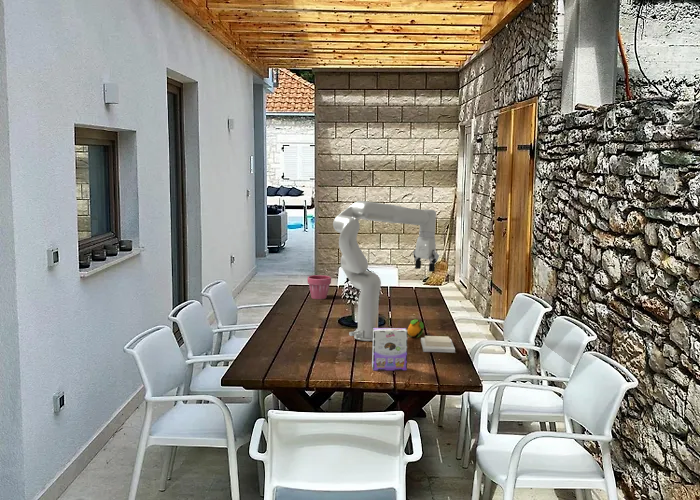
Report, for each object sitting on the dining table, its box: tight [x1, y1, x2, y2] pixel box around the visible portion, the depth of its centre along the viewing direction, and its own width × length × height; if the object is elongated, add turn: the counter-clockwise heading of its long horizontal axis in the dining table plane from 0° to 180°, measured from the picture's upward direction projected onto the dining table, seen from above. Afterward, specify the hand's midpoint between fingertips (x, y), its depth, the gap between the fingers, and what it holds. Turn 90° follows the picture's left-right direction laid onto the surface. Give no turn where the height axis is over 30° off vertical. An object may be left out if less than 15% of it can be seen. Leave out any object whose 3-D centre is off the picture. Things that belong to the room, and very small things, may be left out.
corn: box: [406, 319, 425, 339], centre depth 363 cm, size 7×8×20 cm
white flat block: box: [420, 335, 456, 354], centre depth 344 cm, size 20×14×4 cm
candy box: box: [371, 327, 408, 371], centre depth 305 cm, size 14×6×16 cm, turn 92°
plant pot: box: [307, 274, 332, 300], centre depth 456 cm, size 14×14×13 cm
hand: (424, 270), depth 367 cm, fingers open, 9 cm apart
